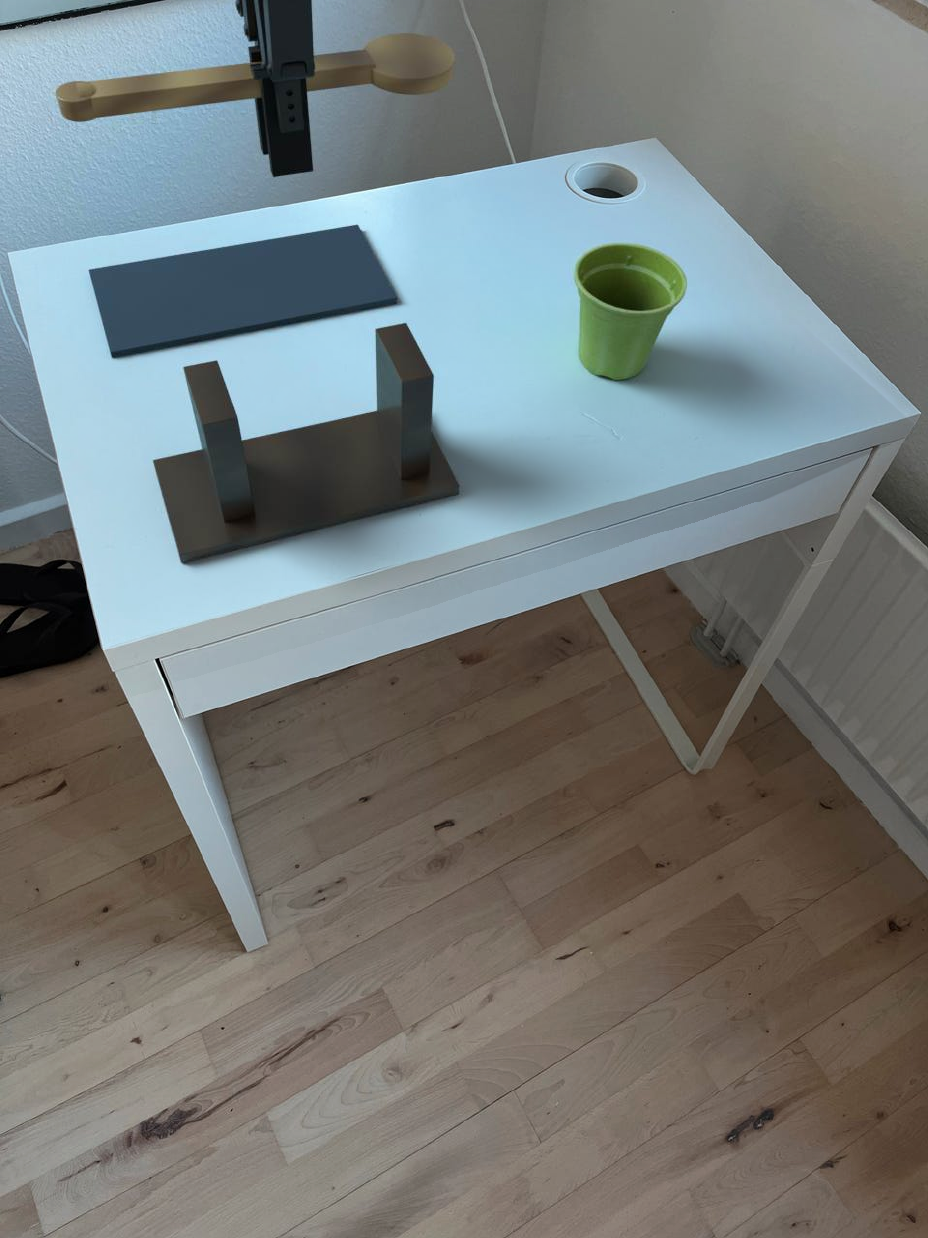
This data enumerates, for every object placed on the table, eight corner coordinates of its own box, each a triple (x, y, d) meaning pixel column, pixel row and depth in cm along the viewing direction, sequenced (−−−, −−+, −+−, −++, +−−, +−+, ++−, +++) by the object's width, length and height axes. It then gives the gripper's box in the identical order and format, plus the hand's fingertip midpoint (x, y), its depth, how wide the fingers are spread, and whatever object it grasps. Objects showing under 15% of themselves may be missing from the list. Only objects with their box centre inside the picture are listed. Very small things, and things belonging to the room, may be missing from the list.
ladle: (67, 140, 54) (61, 119, 53) (55, 88, 57) (49, 67, 56) (468, 88, 60) (469, 69, 59) (437, 43, 63) (437, 24, 62)
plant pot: (597, 407, 81) (617, 324, 74) (539, 342, 86) (553, 258, 79) (683, 375, 84) (709, 293, 77) (622, 314, 89) (643, 231, 82)
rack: (181, 563, 69) (149, 459, 60) (155, 468, 74) (121, 358, 65) (459, 494, 75) (468, 388, 66) (417, 410, 80) (420, 301, 71)
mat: (111, 357, 81) (110, 352, 81) (89, 274, 87) (88, 269, 87) (397, 302, 88) (397, 297, 87) (358, 229, 94) (357, 224, 93)
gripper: (362, -286, 40) (374, 215, 60) (276, -374, 48) (312, 96, 67) (186, -281, 39) (257, 234, 58) (127, -373, 46) (207, 109, 66)
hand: (286, 159), depth 63 cm, fingers closed on ladle, 2 cm apart
